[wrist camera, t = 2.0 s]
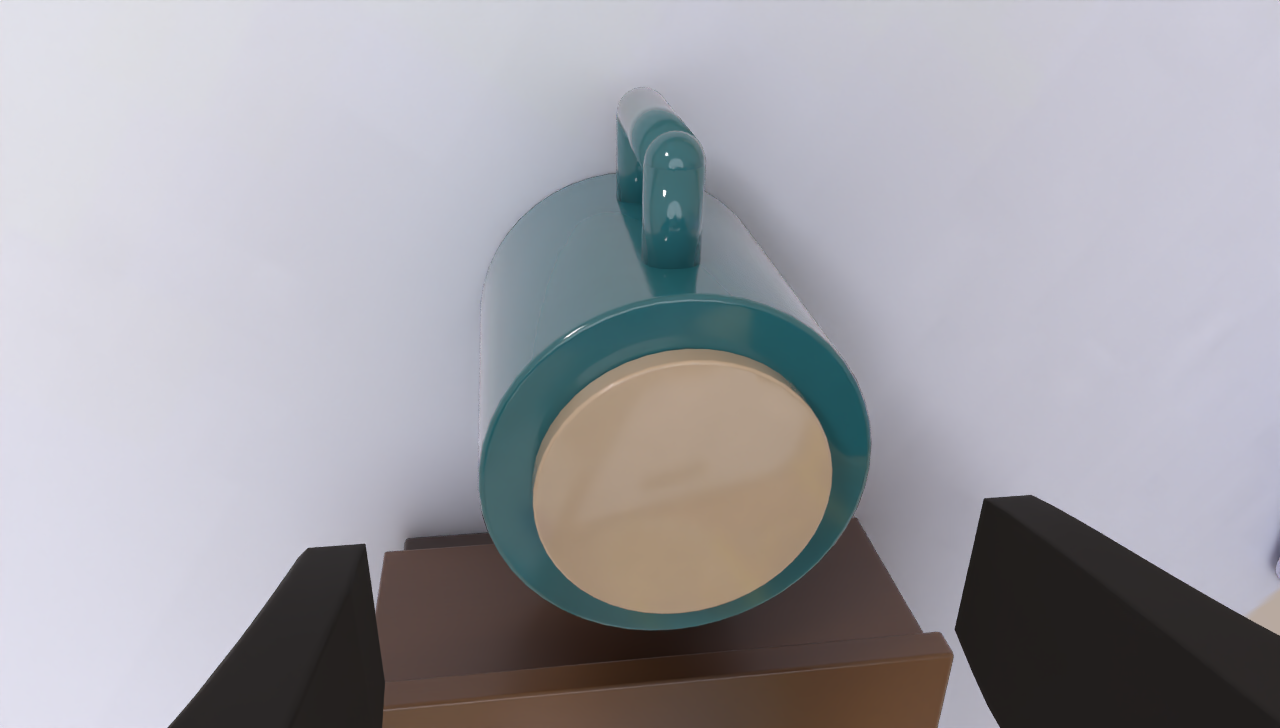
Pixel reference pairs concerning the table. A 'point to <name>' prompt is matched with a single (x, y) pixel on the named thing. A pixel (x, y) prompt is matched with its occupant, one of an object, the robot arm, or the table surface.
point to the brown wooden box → (650, 652)
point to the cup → (658, 398)
